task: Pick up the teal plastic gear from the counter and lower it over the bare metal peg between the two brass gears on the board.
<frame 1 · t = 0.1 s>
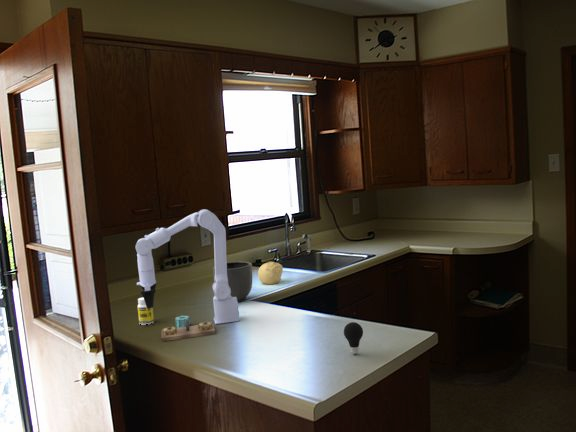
hand: (150, 305, 208), 10 cm above the worktop, tool pointing down, fingers open, 7 cm apart
planter: (235, 300, 245), on the worktop
gear board: (188, 333, 202), on the worktop
supplement bottle: (146, 323, 220), on the worktop
pale yellow round lump: (270, 283, 273), on the worktop
light bulb: (355, 355, 168), on the worktop
teal gear: (183, 325, 212), on the worktop
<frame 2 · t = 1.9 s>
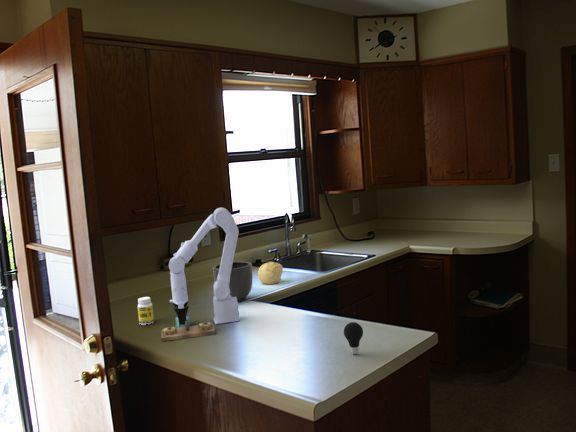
hand: (182, 322, 212), 1 cm above the worktop, tool pointing down, fingers closed on teal gear, 5 cm apart
teal gear: (183, 325, 212), on the worktop, touching gripper
everything else where it was.
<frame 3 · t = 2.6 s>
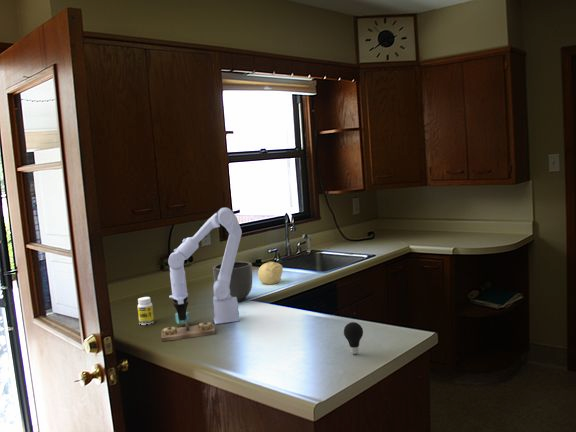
hand: (182, 317, 212), 3 cm above the worktop, tool pointing down, fingers closed on teal gear, 5 cm apart
teal gear: (182, 321, 212), point 2 cm above the worktop, touching gripper
everything else where it was.
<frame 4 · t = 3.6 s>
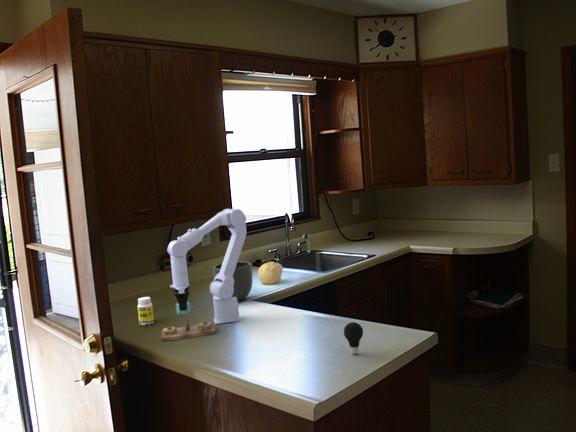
hand: (183, 308, 206), 8 cm above the worktop, tool pointing down, fingers closed on teal gear, 5 cm apart
teal gear: (183, 311, 206), point 7 cm above the worktop, touching gripper
everything else where it was.
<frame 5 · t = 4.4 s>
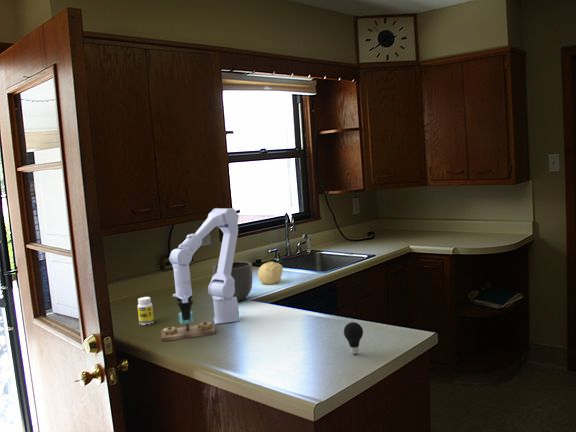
hand: (186, 317, 201), 6 cm above the worktop, tool pointing down, fingers closed on teal gear, 5 cm apart
teal gear: (186, 321, 202), point 5 cm above the worktop, touching gripper
everything else where it was.
when the fingers open (4 cm above the worktop, at t = 5.3 s): teal gear drops 1 cm, resting on gear board.
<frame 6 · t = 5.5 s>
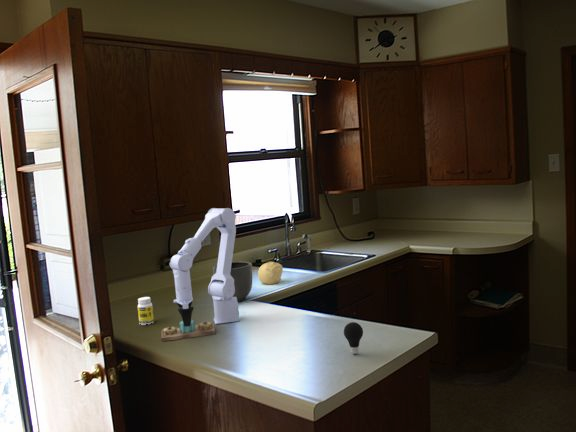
hand: (187, 323, 202), 4 cm above the worktop, tool pointing down, fingers open, 7 cm apart
teal gear: (187, 330, 202), point 1 cm above the worktop, touching gear board
everything else where it was.
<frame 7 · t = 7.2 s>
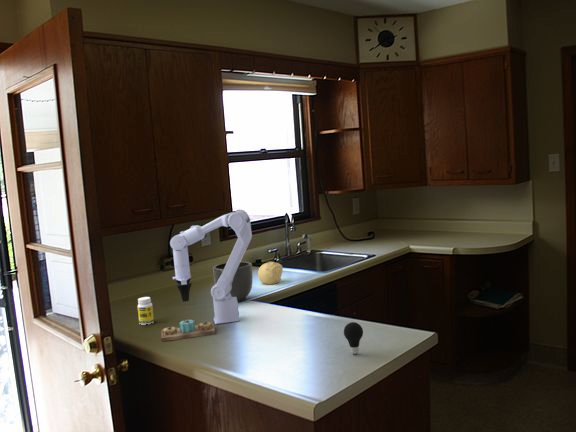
hand: (185, 298, 216), 9 cm above the worktop, tool pointing down, fingers open, 7 cm apart
nothing on the worktop moved.
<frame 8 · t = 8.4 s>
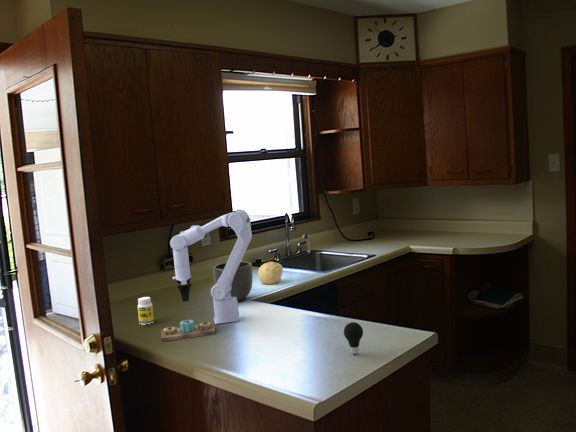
hand: (185, 298, 216), 9 cm above the worktop, tool pointing down, fingers open, 7 cm apart
nothing on the worktop moved.
at the end: teal gear 0.1 cm off-centre on the gear board, point 1.2 cm above the gear board's base; teal gear tilted 0°; the gripper is holding nothing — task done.
